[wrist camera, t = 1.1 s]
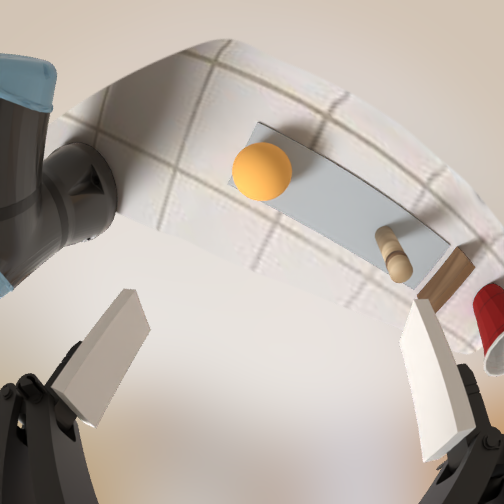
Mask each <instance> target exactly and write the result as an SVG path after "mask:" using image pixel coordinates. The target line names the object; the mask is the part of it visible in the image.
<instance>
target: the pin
mask: <svg viewBox="0 0 504 504" xmlns="http://www.w3.org/2000/svg"><path fill="white" fill-rule="evenodd" d="M375 240H376V242H377V244H378V247H379V249H380V251H381V254H382V256H383V259H384V261H385V264H386V268H387V270H388V272H389V274H390V277H391V279H392V280H393V281H394V282H396V283H403V282H406V281H407V280H409V279H410V277H411V276H412V274H413V267H412V265H411V263H410V260H409V258H408V256H407V255H406V253H405V252H404V250H403V248H402V246H401V245H400V243H399V241H398V239H397V238H396V236H395V234H394V232H393V231H392V229H391V228H390V227H388V226H382V227H380V228H378V229H377V230H376V232H375Z"/></svg>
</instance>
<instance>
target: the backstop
mask: <svg viewBox="0 0 504 504" xmlns="http://www.w3.org/2000/svg"><path fill="white" fill-rule="evenodd" d="M474 269H475V266H474V265H473V263H472V262H471V261H470V260H469V258H468V257H467V256H466V255H465V254H464V252H463V251H462V250H460V249H459V248H458V247H456V249H455V250H454V251H453V252H452V254H451V255H450V256H449V258H448V259H447V260H446V261H445V263H444V264H443V265H442V266H441V268H440V269H439V270H438V271H437V273H436V274H435V275H434V276H433V277H432V279H431V280H430V281H429V282H428V283H427V284H426V286H425V287H424V288H423V289H422V290H421V291H420V292H419V294H418V295H417V297H418V299H428V300H429V302H430V304H431V306H432V308H433V310H434V312H435V313H436V312H437V311H438V310H439V309H440V308H441V307H442V306H443V305H444V304H445V303H446V302H447V300H448V299H449V298H450V297H451V296H452V295H453V294H454V293H455V291H456V290H457V289H458V288H459V287H460V286H461V284H462V283H463V282H464V281H465V280H466V278H467V277H468V276H469V275H470V274H471V272H472V271H473V270H474Z"/></svg>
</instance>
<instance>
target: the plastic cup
mask: <svg viewBox="0 0 504 504" xmlns="http://www.w3.org/2000/svg"><path fill="white" fill-rule="evenodd" d="M473 309H474V313H475V316H476V320H477V324H478V328H479V332H480V336H481V340H482V344H483V348H484V355H485V358H484V371H485V372H486V373H487V375H489V376H496V377H497V376H501V375H504V290H503V289H502V288H501V287H500V286H498V285H496V284H494V283H493V284H488V285H486V286H485V287H483V288H482V289H481V290H480V291H479V292H478V293H477V295H476V297H475V298H474V302H473Z"/></svg>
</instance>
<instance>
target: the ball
mask: <svg viewBox="0 0 504 504" xmlns="http://www.w3.org/2000/svg"><path fill="white" fill-rule="evenodd" d="M232 175H233V180H234V182H235V185H236V186H237V188H238V189H239V191H240V192H241V193H242V194H244V195H245V196H246V197H248V198H250V199H253V200H257V201H268V200H272V199H274V198H276V197H278V196H280V195H281V194H282V193H283V192H284V191H285V190H286V189H287V187H288V186H289V184H290V181H291V177H292V166H291V163H290V160H289V158H288V156H287V155H286V154H285V152H284V151H283V150H282V149H280V148H279V147H277V146H275V145H273V144H270V143H265V142H260V143H254V144H251V145H249V146H247V147H245V148H244V149H243V150H242V151H241V152H240V153H239V154H238V155H237V157H236V158H235V161H234V163H233V168H232Z"/></svg>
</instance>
